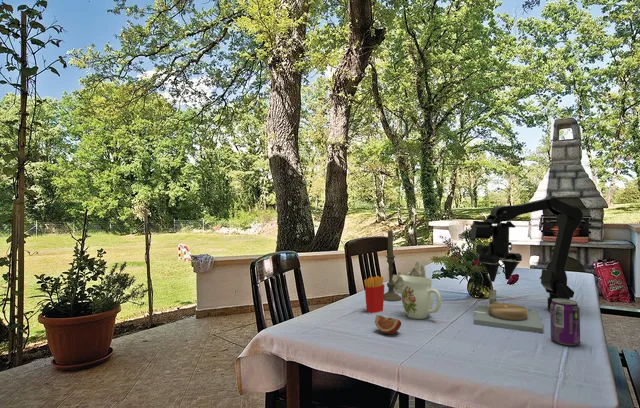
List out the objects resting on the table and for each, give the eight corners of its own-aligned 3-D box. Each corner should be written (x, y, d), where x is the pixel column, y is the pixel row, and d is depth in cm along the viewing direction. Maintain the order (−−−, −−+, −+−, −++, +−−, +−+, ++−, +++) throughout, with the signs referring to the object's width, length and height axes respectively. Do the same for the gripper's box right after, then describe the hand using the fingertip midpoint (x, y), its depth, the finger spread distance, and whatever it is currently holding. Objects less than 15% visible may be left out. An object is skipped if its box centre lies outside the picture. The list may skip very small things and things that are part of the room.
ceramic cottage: (434, 289, 173) (431, 258, 173) (418, 297, 160) (415, 263, 161) (404, 287, 183) (402, 257, 183) (387, 294, 171) (385, 262, 171)
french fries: (378, 307, 142) (378, 274, 143) (387, 309, 139) (386, 276, 139) (361, 311, 137) (361, 277, 137) (369, 314, 133) (369, 279, 134)
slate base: (539, 316, 130) (539, 311, 130) (543, 333, 112) (543, 328, 112) (475, 308, 140) (475, 304, 140) (470, 323, 122) (470, 318, 122)
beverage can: (585, 348, 100) (584, 304, 100) (557, 346, 102) (556, 303, 102) (573, 338, 107) (572, 298, 107) (546, 337, 109) (546, 297, 109)
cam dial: (535, 319, 120) (534, 301, 120) (499, 320, 119) (499, 301, 119) (506, 305, 137) (506, 289, 137) (475, 306, 137) (475, 289, 137)
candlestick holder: (404, 297, 158) (404, 229, 158) (397, 302, 150) (396, 230, 151) (385, 295, 163) (384, 228, 163) (376, 299, 155) (376, 229, 155)
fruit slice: (371, 332, 114) (370, 316, 114) (383, 327, 119) (383, 312, 119) (393, 338, 108) (393, 322, 109) (405, 333, 113) (405, 317, 113)
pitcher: (430, 326, 119) (430, 284, 120) (390, 313, 134) (389, 276, 134) (450, 320, 126) (450, 280, 126) (409, 308, 140) (409, 273, 141)
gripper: (495, 237, 148) (495, 275, 148) (466, 238, 139) (465, 278, 139) (522, 239, 139) (522, 280, 138) (492, 240, 129) (492, 284, 129)
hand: (500, 280), depth 136 cm, fingers open, 9 cm apart
